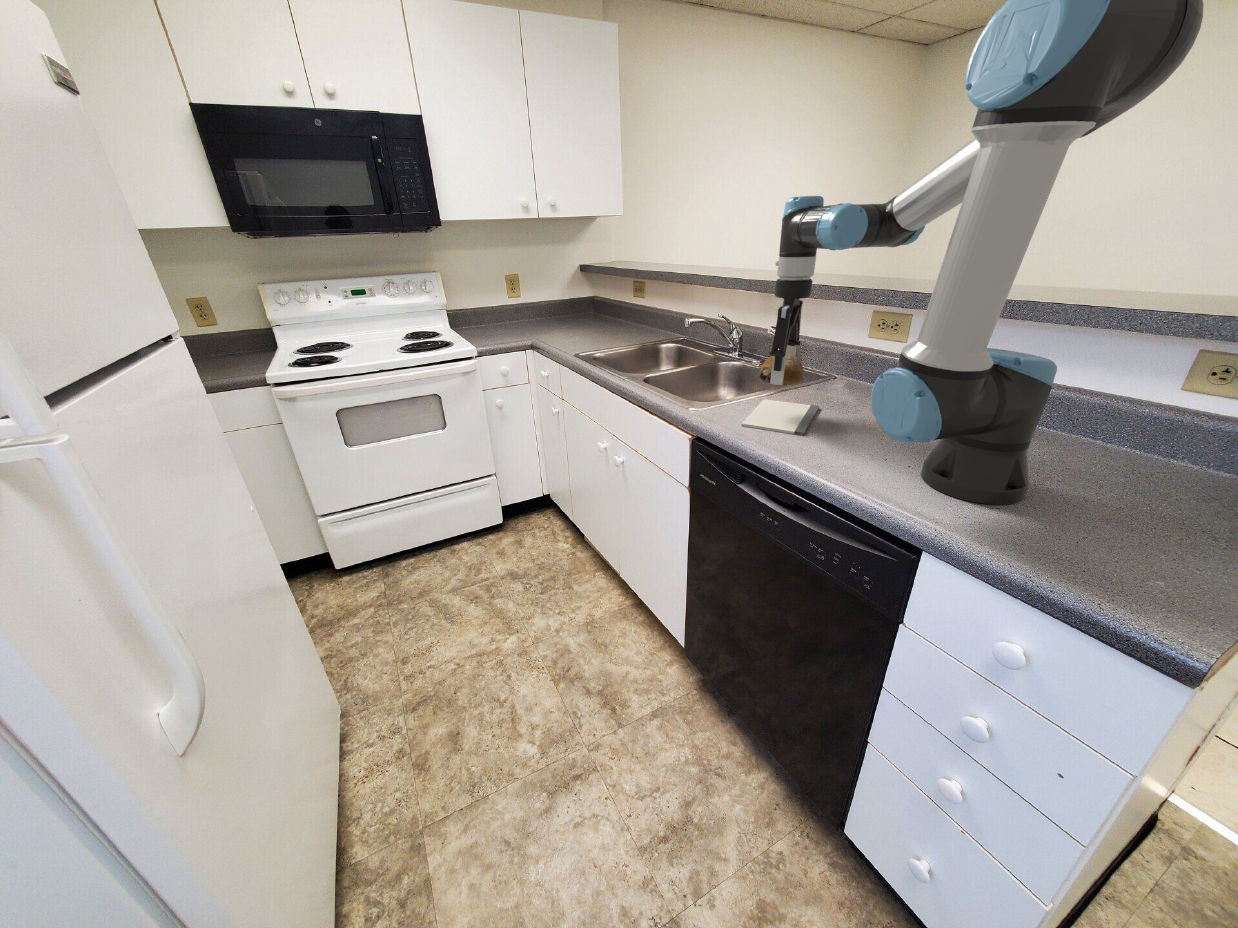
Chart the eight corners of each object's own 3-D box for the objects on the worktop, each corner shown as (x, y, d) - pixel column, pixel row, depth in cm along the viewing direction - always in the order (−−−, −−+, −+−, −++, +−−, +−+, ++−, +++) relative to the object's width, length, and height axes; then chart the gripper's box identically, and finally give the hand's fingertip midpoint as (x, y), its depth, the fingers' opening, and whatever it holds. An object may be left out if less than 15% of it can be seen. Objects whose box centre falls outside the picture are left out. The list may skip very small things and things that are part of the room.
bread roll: (798, 400, 110) (818, 369, 106) (760, 382, 108) (779, 350, 105) (785, 387, 119) (803, 358, 115) (750, 371, 117) (767, 341, 114)
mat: (803, 435, 105) (803, 432, 105) (741, 425, 112) (741, 423, 111) (818, 408, 121) (819, 405, 120) (763, 401, 127) (763, 398, 127)
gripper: (788, 273, 113) (777, 365, 123) (763, 282, 96) (752, 389, 106) (821, 273, 110) (807, 368, 120) (802, 283, 92) (787, 393, 102)
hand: (781, 378), depth 113 cm, fingers closed on bread roll, 10 cm apart
